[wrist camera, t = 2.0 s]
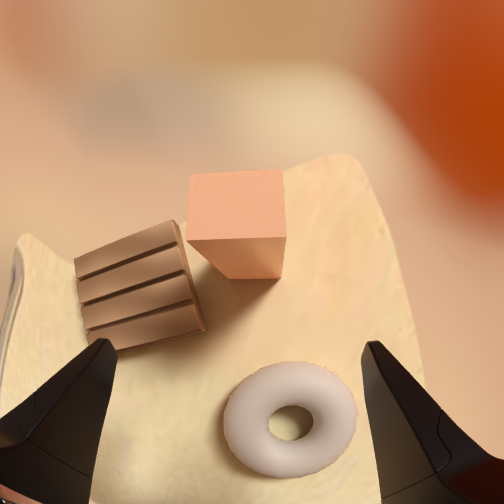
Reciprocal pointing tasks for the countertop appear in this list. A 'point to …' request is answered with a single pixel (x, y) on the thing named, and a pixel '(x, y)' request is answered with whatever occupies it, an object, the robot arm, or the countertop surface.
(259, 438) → the donut
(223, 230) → the clay bar
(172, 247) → the stacked wooden slats
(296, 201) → the countertop surface
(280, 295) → the countertop surface
